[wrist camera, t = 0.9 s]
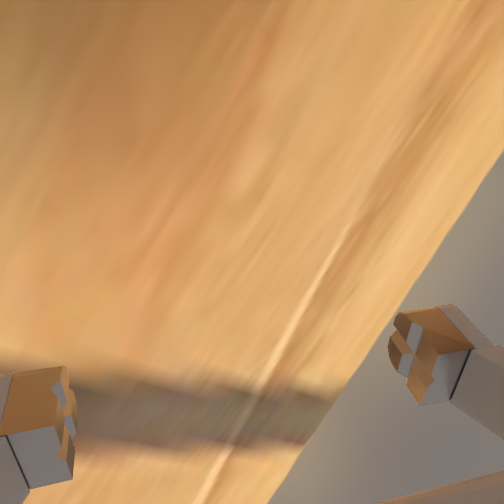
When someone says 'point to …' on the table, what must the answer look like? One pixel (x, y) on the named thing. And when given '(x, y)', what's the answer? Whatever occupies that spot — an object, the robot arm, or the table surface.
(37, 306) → the table surface
